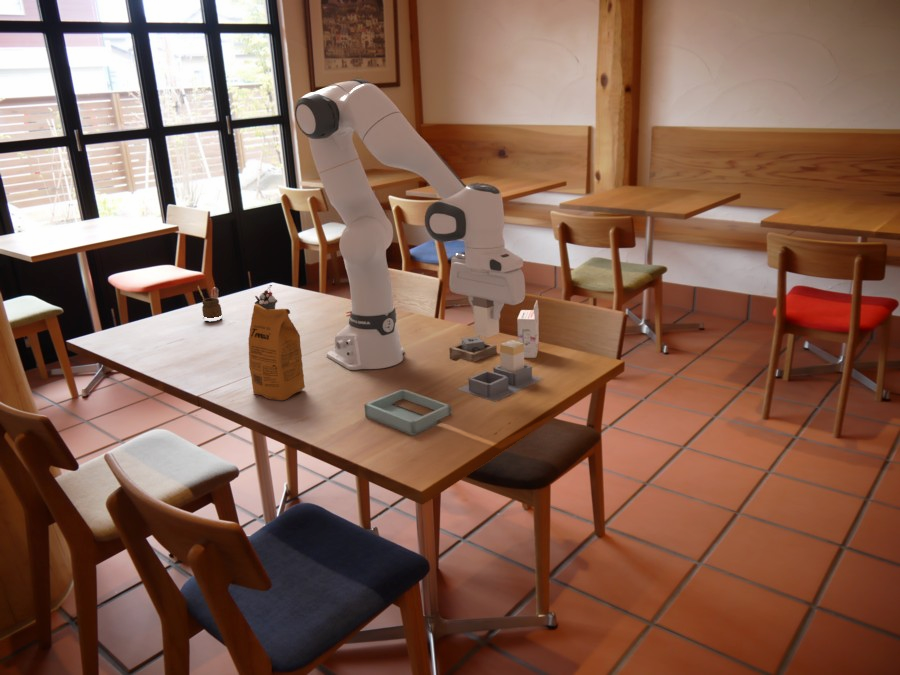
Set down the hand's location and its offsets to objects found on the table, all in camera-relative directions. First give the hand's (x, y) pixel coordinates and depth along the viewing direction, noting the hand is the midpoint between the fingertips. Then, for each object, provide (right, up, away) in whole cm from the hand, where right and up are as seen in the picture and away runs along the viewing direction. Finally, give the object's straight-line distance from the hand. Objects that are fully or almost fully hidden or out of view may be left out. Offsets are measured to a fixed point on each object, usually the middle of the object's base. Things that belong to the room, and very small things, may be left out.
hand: (486, 316), depth 170 cm
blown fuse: (0, -4, +1) cm, 4 cm away
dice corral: (-2, -10, +30) cm, 32 cm away
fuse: (+7, -15, +12) cm, 20 cm away
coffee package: (-51, -18, +12) cm, 55 cm away
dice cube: (-2, -10, +31) cm, 32 cm away
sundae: (-64, -3, +59) cm, 87 cm away
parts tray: (-18, -23, -5) cm, 29 cm away
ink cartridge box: (+13, -10, +30) cm, 34 cm away
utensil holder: (-87, +1, +75) cm, 115 cm away
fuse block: (+4, -17, +9) cm, 20 cm away
